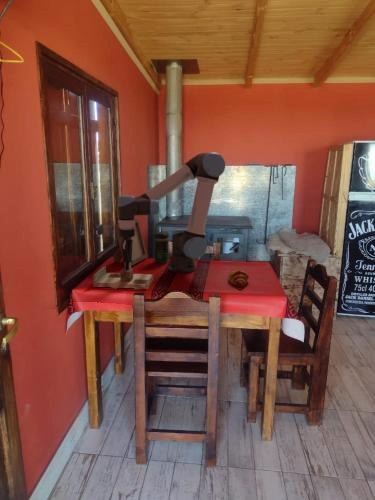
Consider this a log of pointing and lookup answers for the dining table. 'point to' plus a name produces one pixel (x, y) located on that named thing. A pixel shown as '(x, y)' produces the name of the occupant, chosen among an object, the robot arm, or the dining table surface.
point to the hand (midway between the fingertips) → (128, 274)
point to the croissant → (238, 277)
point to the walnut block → (126, 275)
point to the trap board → (107, 281)
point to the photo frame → (137, 246)
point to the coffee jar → (162, 247)
